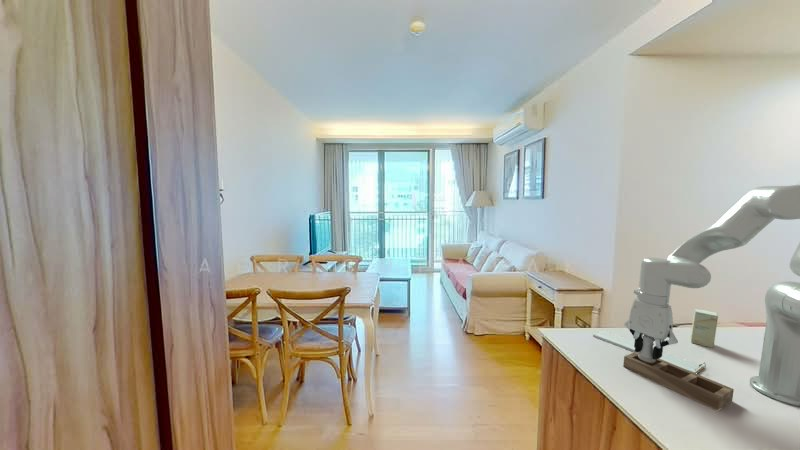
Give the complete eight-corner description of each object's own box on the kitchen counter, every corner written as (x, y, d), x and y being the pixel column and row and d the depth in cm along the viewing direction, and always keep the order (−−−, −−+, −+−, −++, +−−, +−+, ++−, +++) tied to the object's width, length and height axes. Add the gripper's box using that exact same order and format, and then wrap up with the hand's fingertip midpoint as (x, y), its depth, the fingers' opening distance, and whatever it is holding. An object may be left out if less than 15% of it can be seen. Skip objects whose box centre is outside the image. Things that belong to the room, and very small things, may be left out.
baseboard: (606, 332, 129) (592, 338, 123) (606, 325, 128) (593, 331, 123) (705, 367, 103) (694, 377, 98) (706, 359, 103) (695, 368, 98)
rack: (638, 360, 106) (639, 350, 106) (732, 401, 86) (733, 389, 85) (623, 366, 102) (624, 356, 102) (717, 410, 82) (719, 398, 82)
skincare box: (691, 342, 119) (694, 311, 117) (690, 338, 122) (693, 308, 121) (714, 348, 115) (718, 315, 113) (713, 343, 118) (717, 312, 117)
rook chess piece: (641, 362, 99) (644, 337, 98) (635, 355, 103) (637, 331, 102) (658, 364, 97) (661, 339, 97) (651, 357, 102) (653, 333, 101)
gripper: (617, 291, 104) (612, 345, 106) (680, 309, 89) (673, 371, 91) (630, 288, 107) (625, 340, 109) (693, 305, 92) (686, 365, 94)
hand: (647, 354), depth 100 cm, fingers closed on rook chess piece, 4 cm apart
